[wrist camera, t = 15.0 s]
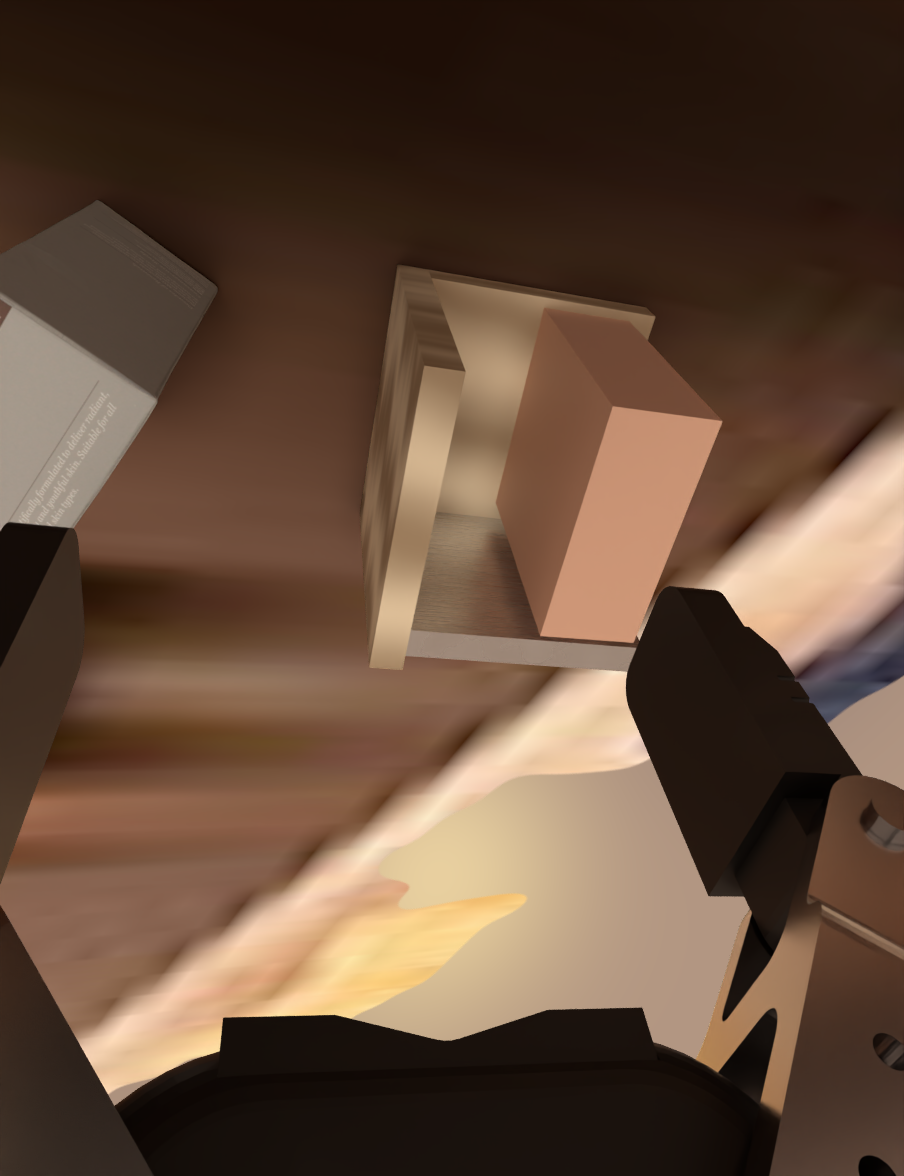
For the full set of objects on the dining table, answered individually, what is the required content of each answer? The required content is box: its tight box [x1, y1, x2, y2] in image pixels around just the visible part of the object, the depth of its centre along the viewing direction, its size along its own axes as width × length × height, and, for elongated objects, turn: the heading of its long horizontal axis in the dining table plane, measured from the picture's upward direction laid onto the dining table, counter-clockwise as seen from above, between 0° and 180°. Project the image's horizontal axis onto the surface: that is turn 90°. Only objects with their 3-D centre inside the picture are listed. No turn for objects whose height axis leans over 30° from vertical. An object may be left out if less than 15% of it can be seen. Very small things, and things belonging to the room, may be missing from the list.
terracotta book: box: [496, 308, 722, 643], centre depth 39 cm, size 11×4×12 cm, turn 169°
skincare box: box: [0, 200, 218, 531], centre depth 33 cm, size 8×7×16 cm
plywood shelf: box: [360, 264, 655, 670], centre depth 39 cm, size 14×13×14 cm
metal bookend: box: [405, 512, 639, 672], centre depth 43 cm, size 2×12×11 cm, turn 79°
